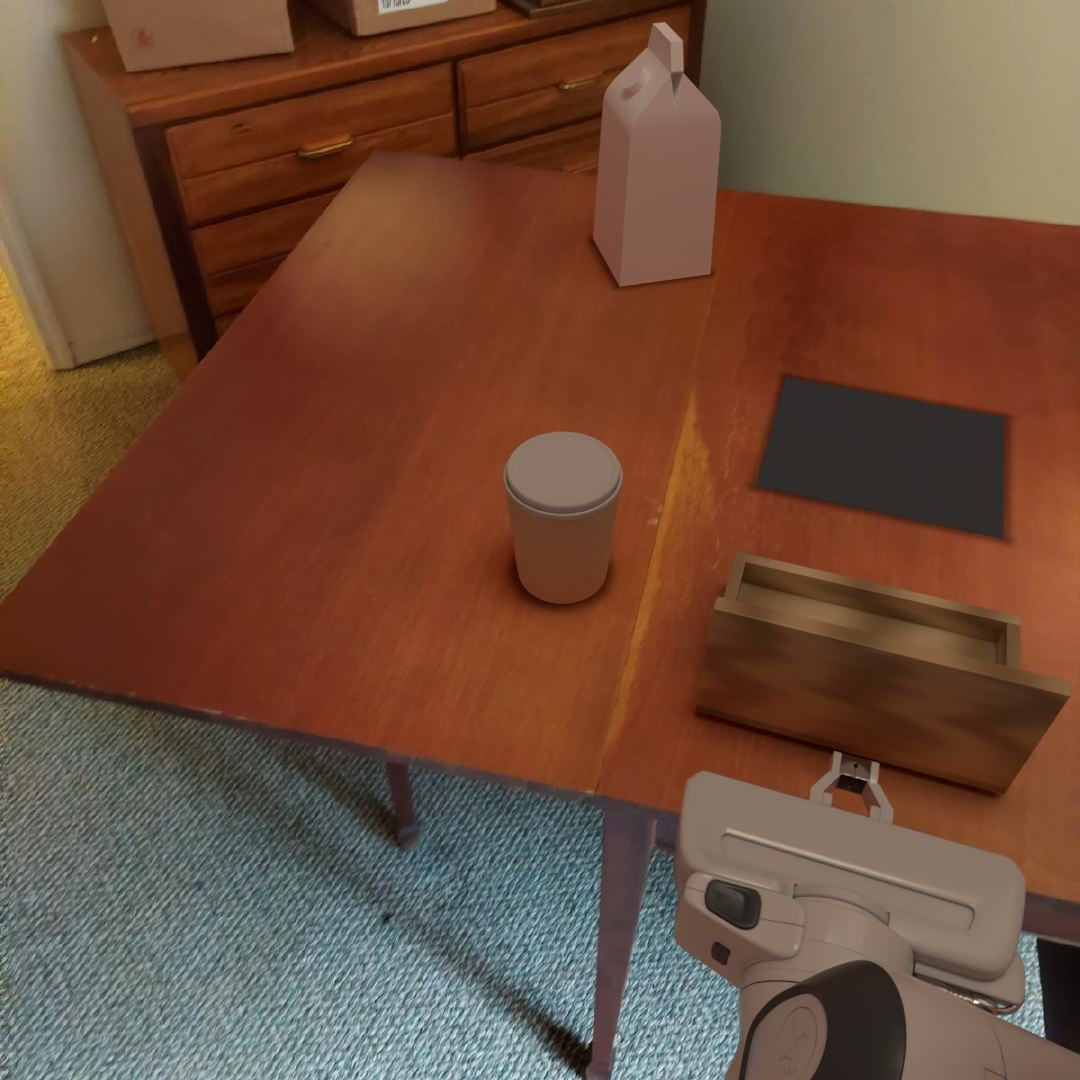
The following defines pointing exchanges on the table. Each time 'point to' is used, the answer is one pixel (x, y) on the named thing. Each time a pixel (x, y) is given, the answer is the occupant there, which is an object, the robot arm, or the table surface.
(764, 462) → the mat
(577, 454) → the coffee cup
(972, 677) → the drawer
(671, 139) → the milk
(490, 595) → the table surface
